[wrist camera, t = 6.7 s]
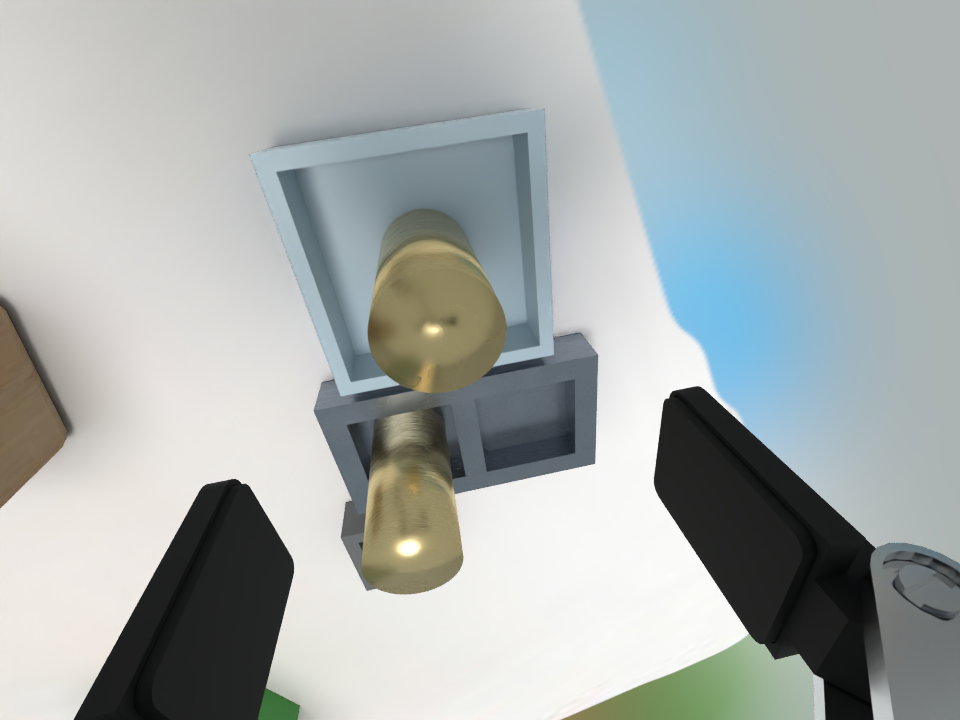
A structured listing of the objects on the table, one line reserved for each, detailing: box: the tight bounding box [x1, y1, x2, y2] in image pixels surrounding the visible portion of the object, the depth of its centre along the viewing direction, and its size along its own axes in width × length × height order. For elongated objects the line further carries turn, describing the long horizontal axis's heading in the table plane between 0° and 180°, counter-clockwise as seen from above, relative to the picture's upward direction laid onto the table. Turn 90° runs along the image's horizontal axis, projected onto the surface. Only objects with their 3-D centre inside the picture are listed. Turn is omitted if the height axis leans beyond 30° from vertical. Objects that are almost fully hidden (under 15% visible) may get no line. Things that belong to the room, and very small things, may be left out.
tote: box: [249, 109, 554, 396], centre depth 23 cm, size 13×13×4 cm
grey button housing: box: [341, 501, 377, 591], centre depth 34 cm, size 7×7×3 cm
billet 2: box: [361, 408, 463, 594], centre depth 25 cm, size 5×5×10 cm
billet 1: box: [367, 209, 507, 393], centre depth 19 cm, size 5×5×10 cm
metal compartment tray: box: [314, 333, 598, 515], centre depth 29 cm, size 18×10×3 cm, turn 97°
